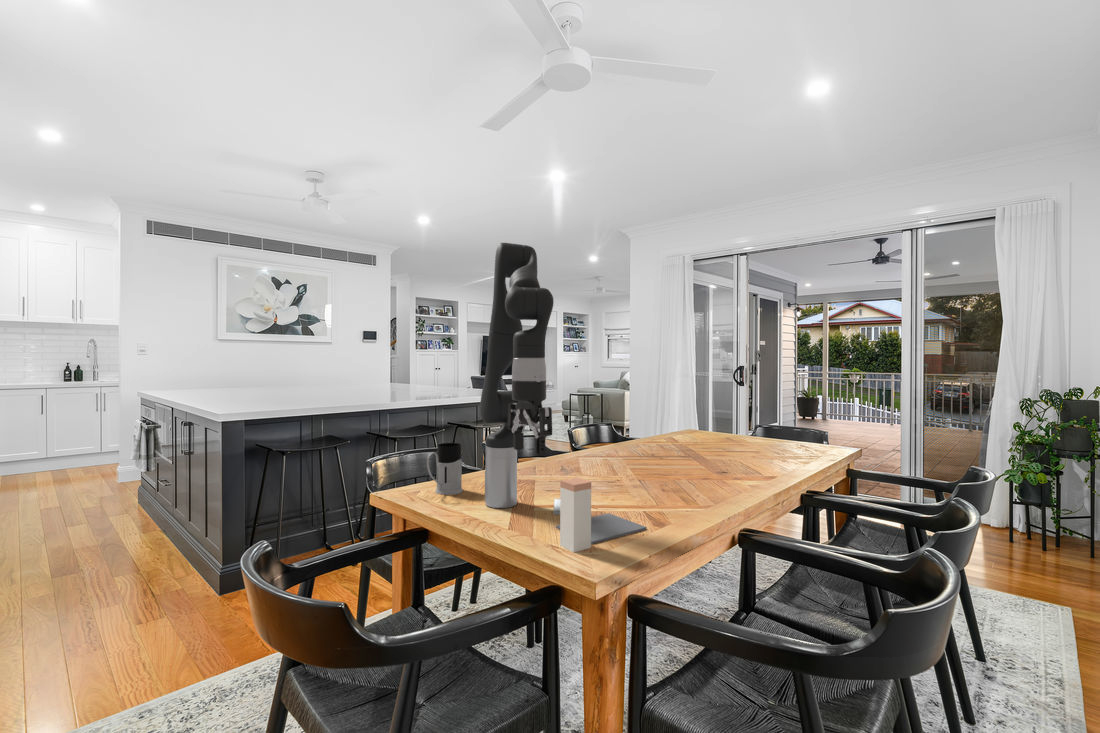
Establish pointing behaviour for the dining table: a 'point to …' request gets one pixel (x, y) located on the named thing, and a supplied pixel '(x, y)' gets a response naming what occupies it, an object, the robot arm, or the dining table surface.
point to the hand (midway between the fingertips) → (528, 452)
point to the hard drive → (556, 506)
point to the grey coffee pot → (448, 468)
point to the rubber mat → (611, 527)
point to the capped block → (575, 514)
